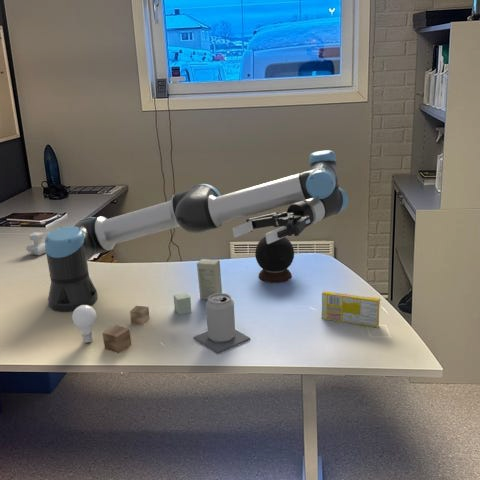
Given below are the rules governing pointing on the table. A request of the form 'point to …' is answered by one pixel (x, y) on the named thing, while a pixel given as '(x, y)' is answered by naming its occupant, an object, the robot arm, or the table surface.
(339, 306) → the candy box
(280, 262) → the black ball on stand
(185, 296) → the sage block
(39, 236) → the stamp
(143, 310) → the oak block
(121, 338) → the walnut block
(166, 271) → the table surface
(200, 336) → the coaster
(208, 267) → the skincare box
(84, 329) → the lightbulb
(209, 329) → the can
